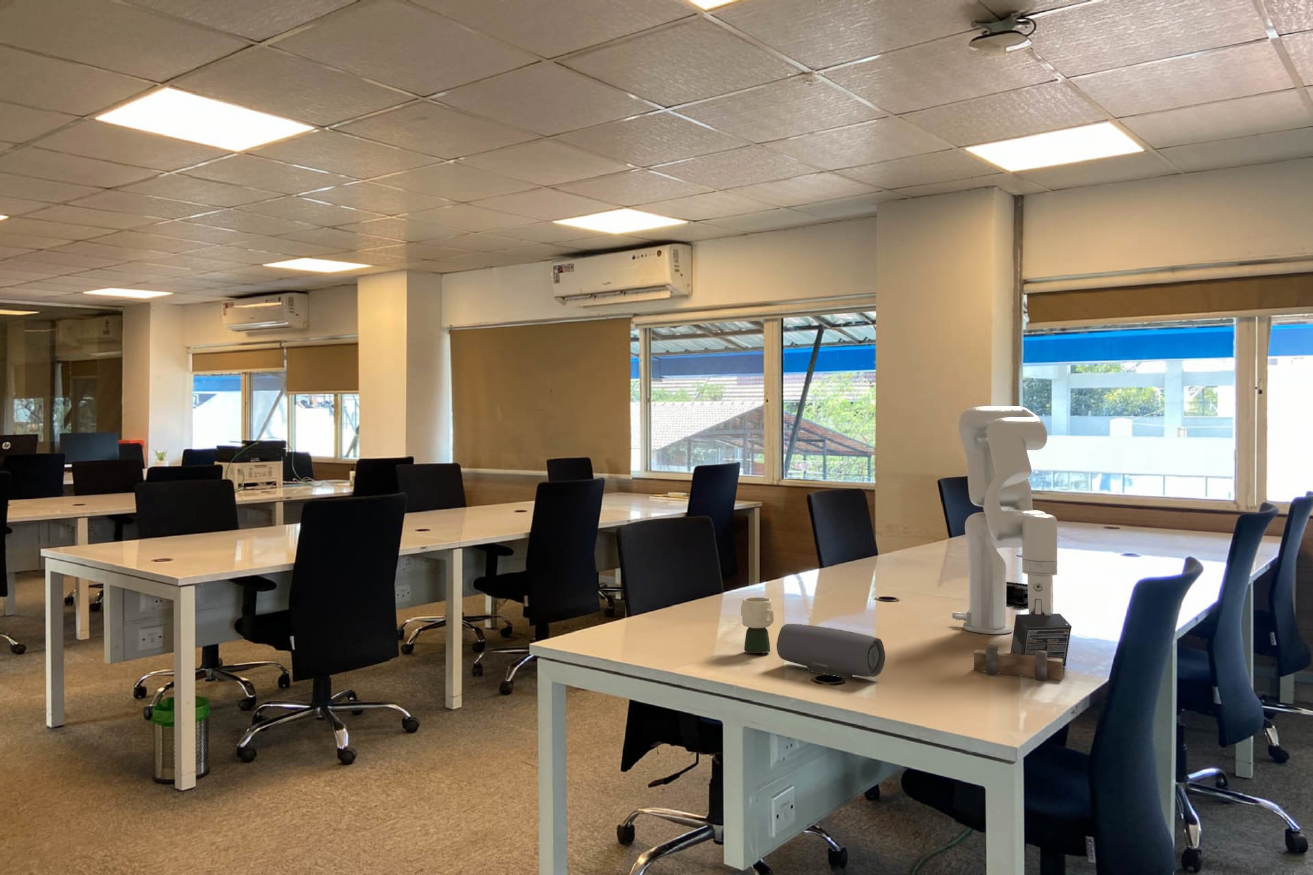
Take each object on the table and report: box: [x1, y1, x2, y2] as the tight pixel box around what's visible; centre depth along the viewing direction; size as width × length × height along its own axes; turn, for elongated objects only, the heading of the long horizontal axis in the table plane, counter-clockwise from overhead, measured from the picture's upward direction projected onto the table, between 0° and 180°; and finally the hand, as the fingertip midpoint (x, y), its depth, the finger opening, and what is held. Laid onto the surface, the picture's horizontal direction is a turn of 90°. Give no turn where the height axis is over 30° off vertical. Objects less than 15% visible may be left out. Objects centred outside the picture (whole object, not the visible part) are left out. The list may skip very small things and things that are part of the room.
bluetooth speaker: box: [776, 623, 886, 679], centre depth 201 cm, size 23×9×10 cm, turn 48°
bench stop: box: [973, 645, 1064, 682], centre depth 199 cm, size 18×5×6 cm, turn 63°
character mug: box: [740, 596, 775, 655], centre depth 219 cm, size 11×7×13 cm, turn 37°
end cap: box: [1006, 581, 1028, 609], centre depth 279 cm, size 10×7×7 cm
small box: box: [1010, 613, 1073, 668], centre depth 206 cm, size 11×6×10 cm, turn 92°
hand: (1039, 645), depth 211 cm, fingers closed
